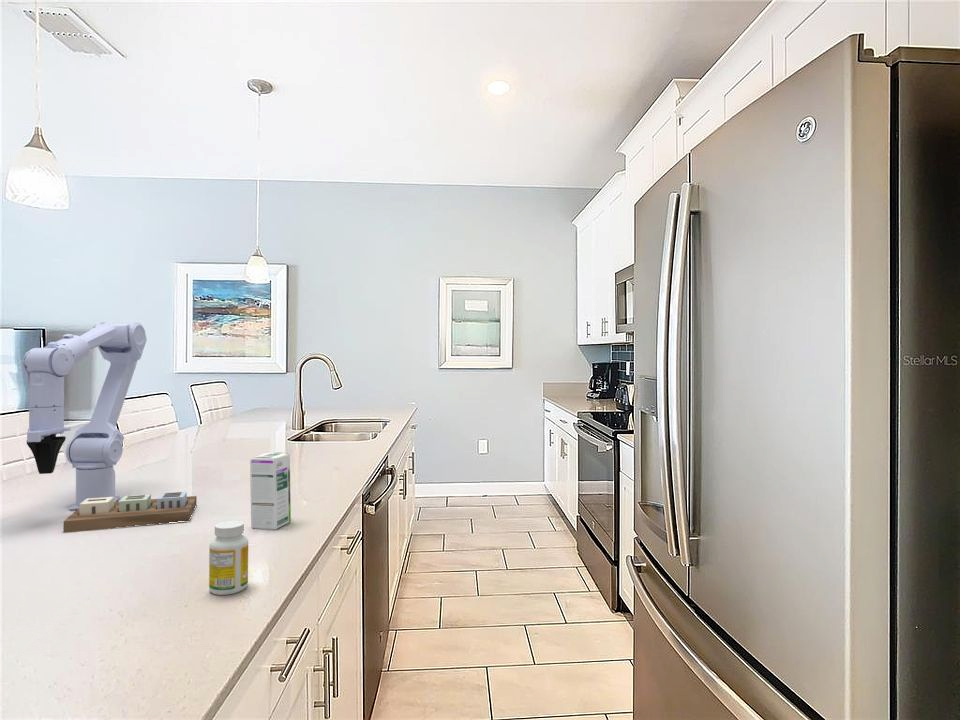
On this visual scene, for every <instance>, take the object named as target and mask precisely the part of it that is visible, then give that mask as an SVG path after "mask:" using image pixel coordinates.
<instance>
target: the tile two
mask: <svg viewBox="0 0 960 720" xmlns="http://www.w3.org/2000/svg"><path fill="white" fill-rule="evenodd" d="M151 499H152V494H151V493H149V494H146V493H145V494H135V495H124V496H123V497H122V498H121V499H119V512H126V511H139V510H149V508H150V507H151Z"/></svg>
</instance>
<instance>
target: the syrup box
mask: <svg viewBox="0 0 960 720" xmlns="http://www.w3.org/2000/svg"><path fill="white" fill-rule="evenodd" d="M249 461H250V462H249V464H250V467H249V468H250V469H249V472H250V473H249V474H250V475H249V476H250V477H249V479H250V482H249V483H250V527H251V528H252V529H258V530H270V531H271V530H272V531H273V530H274V531H277V530H278V529H279V528H281V527H284V526H286V525H287V524H289V523H291V521H292V520H291V519H292V517H291V516H292V515H291V513H292V512H291V509H292V507H291V505H292V503H291V455H290V453H288V452H265V453H262V454H259V455H256V456H252V457H250V458H249Z"/></svg>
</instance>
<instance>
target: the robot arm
mask: <svg viewBox="0 0 960 720" xmlns="http://www.w3.org/2000/svg"><path fill="white" fill-rule="evenodd" d="M147 340H148V339H147V336H146V330H145V327H144V326H143V325H142V323H141V322H132V323H131V322H104V321H103V322H102V321H101V322H98V323H97V324H96V323H95V324H94V325H93V327H92V328H91V329H90V330H88V331H86V332H84V333H83V334H81V335H76V334H75V335H74V334H71V333H66V334H64V335H62V338H61V339H59V340H56V341H50V342H48V343H47V345H46V346H44V347H33V348H31V349H29V350H28V351H27V352H25V353H24V356H23V359H22V360H21V368H22V371H23V372H24V374H25V382H26V383H27V384H28V388H29V389H28V391H29V392H28V393H29V394H28V398H29V399H28V418H29V419H28V428H27V433H26V445H27V447H28V448H29V449H30V451H31V453H32V454H33V455H32V456H33V457H34V460H35V464H36V468H37V470H38V471H37V472H38V474H39V475H44V474H46V475H47V474H48V475H49V474H52V473H54V471H55V469H56V465H57V461H58V456H59V454H60V452H61V451H60V450H61V448H62V446H63V445H64V444H65V441H66V437H67V436H64V435H63V436H59V434H60V435H62V434H64V433H65V432H69V431H71V429H72V427H70V426H65V423H64V422H65V376H66V375H68V374H69V373H70V371H71V369H72V367H73V366H74V365H75V364H77V363H79V362H81V361H83V360H84V359H86V358H87V357H89V355H90V351H91V350H94V349H95V348H97V349H98V350H99V352H100V354H101V356H102V359H104V361H105V360H106V361H108V362H109V363H110V365H109V368H108V371H107V373H106V377H105V379H104V382H103V385H102V387H101V390H100V393H99V395H98V397H97V401H96V404H95V407H94V409H93V413H92V415H91V418H90V421H89V422H88V423H86V424H85V425H83V426H81V427H79V428H78V429H77V430H75V433H74V436H73V437H72V438H71V440H70V441H69V442H68V444H67V446H66V447H65V448H66V449H65V457H66V460H67V461H68V463H70V464H71V465H72V466H71V467H72V468H73V469H75V503H74V504H73V505H71V506H70V507H68V508H69V510H70V511H71V510H74V511H76V510H78V509H79V504H80V503H82V502H83V501H84V500H85V499H87V498H102V497H114V502H118V500H120V498H121V496H120V495H116V471H115V469H114V466H115V465H117V463H118V462H119V461H120V459H121V458H122V455H123V444H124V439H125V436H124V434H123V433H122V431H120V430H119V429H118V428H117V427H116V426H117V424H118V420H119V419H120V414H121V412H122V408H123V405H124V403H125V400H126V396H127V394H128V391H129V388H130V385H131V382H132V378H133V376H134V372H135V370H136V366H137V364H138V363H137V362H138V361H140V360H141V359H142V356H143V351H144V349H145V346H146V343H147ZM57 435H58V436H57Z"/></svg>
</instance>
